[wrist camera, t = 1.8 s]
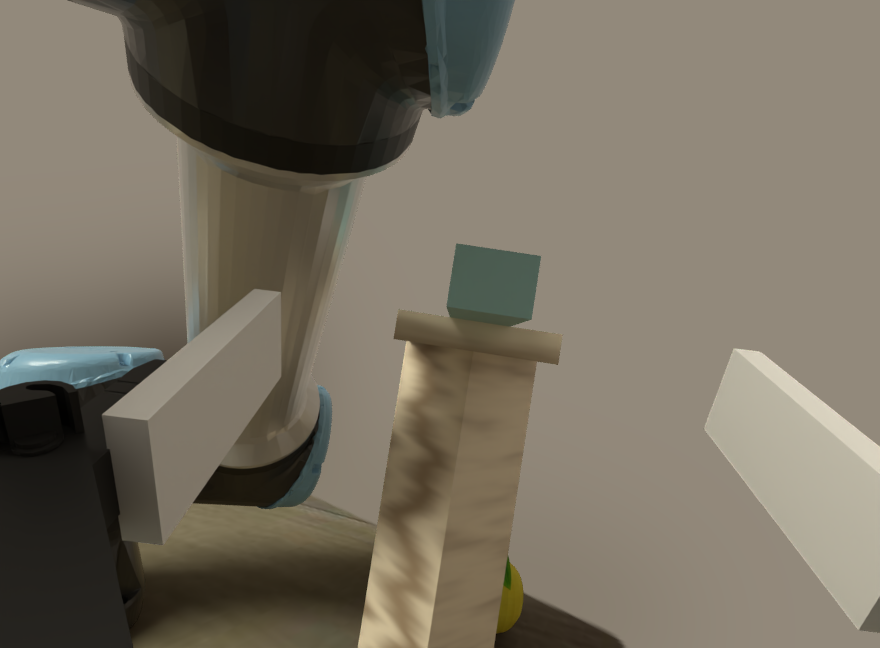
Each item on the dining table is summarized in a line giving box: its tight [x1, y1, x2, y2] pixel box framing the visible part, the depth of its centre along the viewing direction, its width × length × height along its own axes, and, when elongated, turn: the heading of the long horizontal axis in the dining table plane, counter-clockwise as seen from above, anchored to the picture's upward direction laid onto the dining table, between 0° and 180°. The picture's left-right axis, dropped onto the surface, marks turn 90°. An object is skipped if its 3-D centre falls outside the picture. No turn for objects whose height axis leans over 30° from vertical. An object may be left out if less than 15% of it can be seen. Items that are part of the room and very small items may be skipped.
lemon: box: [496, 557, 523, 633], centre depth 51 cm, size 7×6×10 cm
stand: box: [358, 309, 563, 648], centre depth 42 cm, size 11×18×30 cm, turn 178°
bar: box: [447, 244, 541, 327], centre depth 37 cm, size 26×4×3 cm, turn 177°
